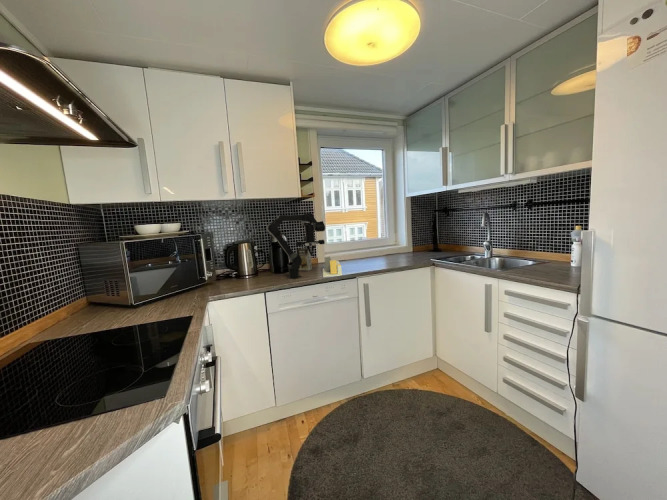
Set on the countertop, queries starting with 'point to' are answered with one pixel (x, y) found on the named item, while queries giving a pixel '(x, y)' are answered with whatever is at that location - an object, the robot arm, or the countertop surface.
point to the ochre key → (333, 267)
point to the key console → (339, 273)
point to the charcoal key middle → (327, 264)
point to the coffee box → (305, 259)
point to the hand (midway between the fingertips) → (311, 255)
